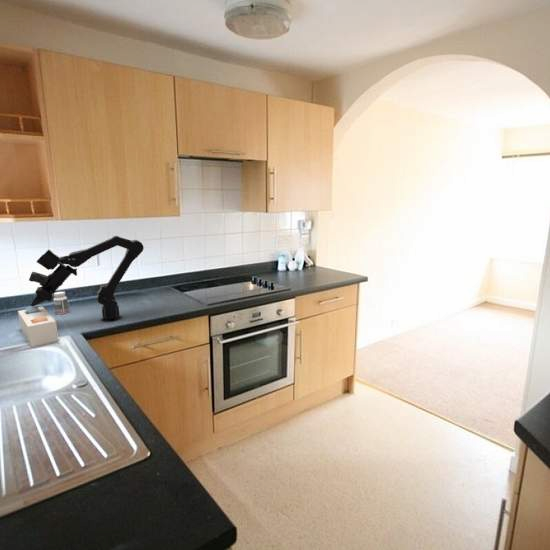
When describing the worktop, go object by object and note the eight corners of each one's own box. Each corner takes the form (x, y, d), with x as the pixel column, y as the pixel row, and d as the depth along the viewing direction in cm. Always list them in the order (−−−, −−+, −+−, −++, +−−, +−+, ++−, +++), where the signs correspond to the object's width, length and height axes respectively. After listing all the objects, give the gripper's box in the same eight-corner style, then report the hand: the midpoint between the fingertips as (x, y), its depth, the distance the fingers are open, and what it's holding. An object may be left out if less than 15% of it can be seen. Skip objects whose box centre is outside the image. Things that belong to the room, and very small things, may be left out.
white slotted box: (20, 329, 157) (17, 310, 155) (45, 324, 163) (42, 306, 161) (31, 347, 138) (27, 326, 136) (58, 340, 144) (55, 321, 142)
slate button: (41, 311, 156) (40, 306, 155) (32, 315, 152) (32, 309, 151) (32, 311, 157) (32, 305, 156) (24, 314, 153) (23, 309, 152)
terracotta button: (49, 323, 145) (48, 317, 145) (40, 327, 141) (39, 321, 140) (40, 322, 146) (39, 316, 146) (30, 326, 142) (29, 320, 141)
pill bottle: (66, 310, 183) (63, 290, 181) (71, 312, 179) (68, 292, 177) (53, 313, 178) (50, 293, 176) (58, 315, 175) (55, 294, 173)
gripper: (43, 261, 161) (16, 289, 158) (38, 268, 144) (8, 299, 142) (66, 277, 166) (41, 304, 163) (64, 285, 149) (35, 316, 147)
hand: (31, 305), depth 154 cm, fingers closed
